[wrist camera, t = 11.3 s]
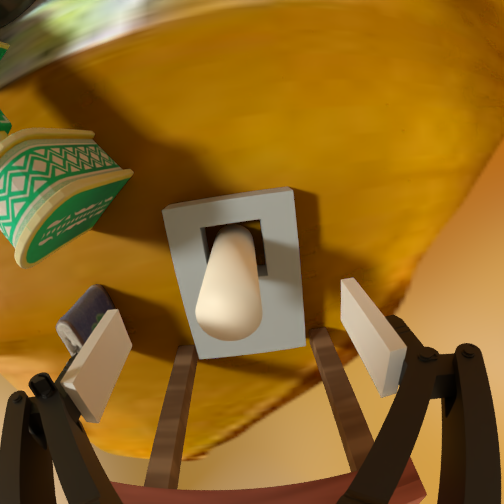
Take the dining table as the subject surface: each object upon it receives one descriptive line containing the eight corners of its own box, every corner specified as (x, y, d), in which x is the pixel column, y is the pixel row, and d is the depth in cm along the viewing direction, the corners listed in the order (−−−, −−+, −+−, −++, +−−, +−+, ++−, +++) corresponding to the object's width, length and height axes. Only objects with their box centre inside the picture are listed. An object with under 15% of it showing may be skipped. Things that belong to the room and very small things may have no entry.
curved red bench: (168, 311, 33) (96, 519, 9) (324, 290, 33) (427, 494, 9) (183, 358, 35) (144, 548, 12) (325, 339, 35) (396, 527, 11)
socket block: (169, 204, 29) (161, 210, 26) (287, 186, 29) (293, 190, 26) (202, 343, 35) (199, 359, 32) (301, 331, 34) (305, 345, 32)
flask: (87, 284, 32) (42, 332, 22) (106, 281, 32) (64, 331, 22) (113, 346, 35) (84, 403, 25) (132, 345, 35) (105, 404, 25)
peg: (211, 227, 30) (188, 288, 17) (250, 221, 30) (258, 279, 17) (218, 263, 31) (203, 344, 18) (256, 258, 31) (266, 336, 18)
